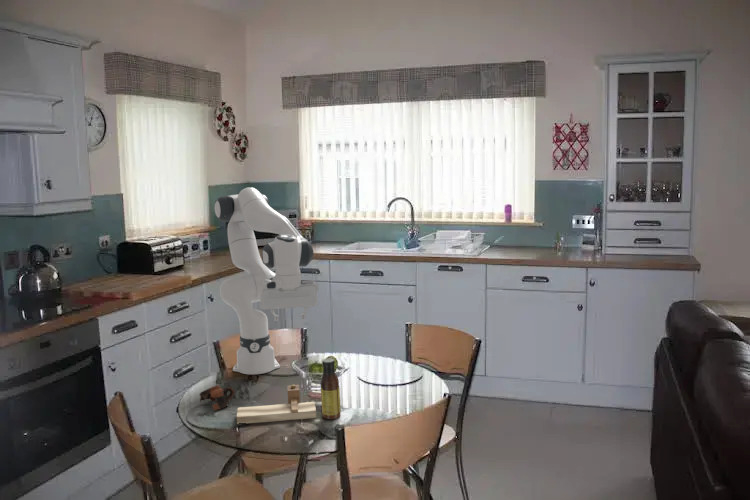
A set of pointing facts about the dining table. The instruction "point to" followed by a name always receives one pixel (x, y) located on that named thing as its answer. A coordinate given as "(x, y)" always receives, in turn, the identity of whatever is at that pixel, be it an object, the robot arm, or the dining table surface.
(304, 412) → the board
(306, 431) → the dining table surface
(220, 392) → the rusty valve
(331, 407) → the sauce bottle
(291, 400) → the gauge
